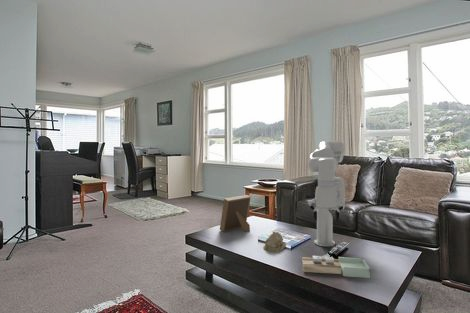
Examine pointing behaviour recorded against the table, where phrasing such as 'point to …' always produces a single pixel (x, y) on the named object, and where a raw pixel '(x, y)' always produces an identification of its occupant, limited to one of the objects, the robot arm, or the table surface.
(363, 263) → the tray
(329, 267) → the slot rail
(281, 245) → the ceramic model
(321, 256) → the adjustable wrench
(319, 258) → the chip
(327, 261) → the chip
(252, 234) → the table surface
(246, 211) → the photo frame
